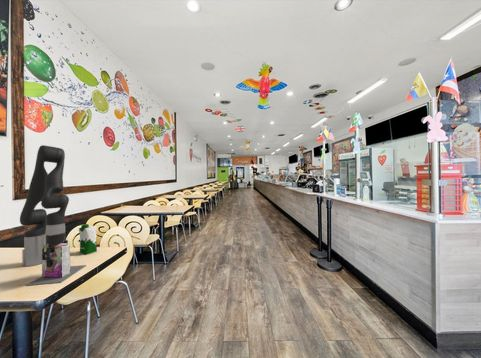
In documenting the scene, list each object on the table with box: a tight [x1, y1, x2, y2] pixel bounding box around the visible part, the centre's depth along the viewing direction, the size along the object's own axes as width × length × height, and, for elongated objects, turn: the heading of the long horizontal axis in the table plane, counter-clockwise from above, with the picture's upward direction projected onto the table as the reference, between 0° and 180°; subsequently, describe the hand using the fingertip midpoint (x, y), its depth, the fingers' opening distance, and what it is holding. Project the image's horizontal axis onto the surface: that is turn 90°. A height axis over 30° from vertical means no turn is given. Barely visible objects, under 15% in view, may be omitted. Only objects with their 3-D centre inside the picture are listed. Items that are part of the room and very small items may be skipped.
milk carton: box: [78, 223, 98, 256], centre depth 139 cm, size 9×9×20 cm
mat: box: [25, 264, 87, 287], centre depth 105 cm, size 15×20×1 cm
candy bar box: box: [41, 242, 71, 278], centre depth 103 cm, size 11×5×16 cm, turn 86°
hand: (56, 263), depth 103 cm, fingers open, 8 cm apart
